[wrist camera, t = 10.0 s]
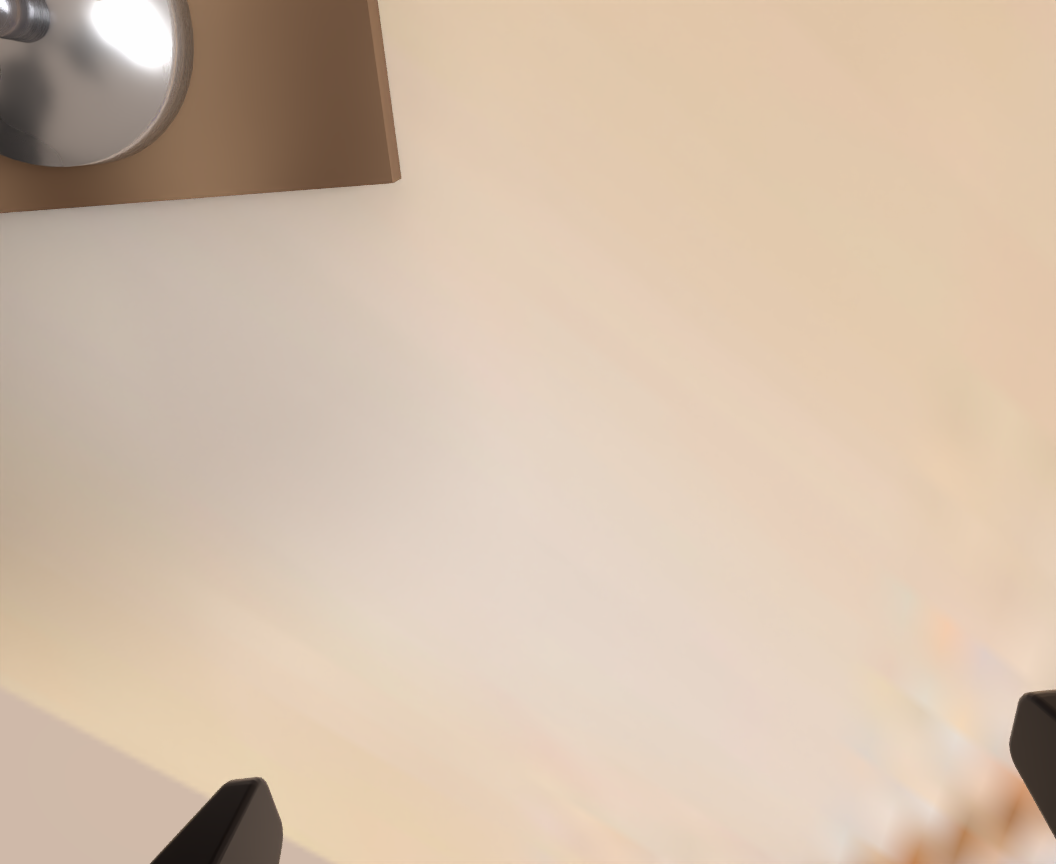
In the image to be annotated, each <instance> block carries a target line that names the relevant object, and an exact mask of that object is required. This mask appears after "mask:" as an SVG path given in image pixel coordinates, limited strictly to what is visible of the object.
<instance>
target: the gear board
mask: <svg viewBox="0 0 1056 864" xmlns="http://www.w3.org/2000/svg"><path fill="white" fill-rule="evenodd" d="M187 3H188V6H189V10H190V16H191V22H192V27H193V41H194V56H193V69H192V74H191V79H190V84H189V88H188V91H187V94H186V97H185V99H184V102H183V104H182V106H181V108H180V110H179V112H178V114H177V116H176V118H175V119H174V120H173V122H172V123H171V124H170V126H169V127H168V128H167V130H166V131H165V132H164V133H163V134H162V135H161V136H160V137H159V138H158V139H157V140H156V141H155V142H153V143H152V144H150V145H149V146H147V147H146V148H145V149H143V150H142V151H140V152H138V153H136V154H133V155H131V156H129V157H127V158H124V159H120V160H117V161H114V162H108V163H102V164H94V165H83V166H71V167H49V166H41V165H33V164H29V163H25V162H21V161H17V160H13V159H11V158H8V157H5V156H3V155H0V213H8V212H21V211H34V210H47V209H60V208H73V207H86V206H99V205H112V204H125V203H138V202H151V201H164V200H177V199H191V198H204V197H217V196H230V195H243V194H256V193H269V192H282V191H295V190H308V189H321V188H334V187H347V186H360V185H374V184H387V183H394V182H396V181H397V180H399V179H401V172H400V165H399V157H398V150H397V142H396V135H395V128H394V120H393V113H392V105H391V98H390V90H389V83H388V76H387V68H386V61H385V53H384V46H383V38H382V31H381V24H380V16H379V9H378V1H377V0H187Z"/></svg>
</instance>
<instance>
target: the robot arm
mask: <svg viewBox="0 0 1056 864" xmlns="http://www.w3.org/2000/svg"><path fill="white" fill-rule="evenodd" d="M1009 746H1010V753H1011V757H1012V760H1013V762H1014V764H1015V767H1016V768H1017V770H1018V772H1019V774H1020V776H1021V777H1022V779H1023V781H1024V783H1025V785H1026V786H1027V788H1028V790H1029V792H1030V794H1031V795H1032V797H1033V799H1034V801H1035V803H1036V804H1037V806H1038V808H1039V810H1040V811H1041V813H1042V815H1043V817H1044V819H1045V820H1046V822H1047V824H1048V826H1049V828H1050V829H1051V831H1052V833H1053V835H1054V837H1055V838H1056V690H1046V691H1037V692H1028V693H1025V694H1024V695H1023V696H1022V697H1021V698H1020V699H1019V702H1018V706H1017V710H1016V714H1015V719H1014V723H1013V727H1012V732H1011V736H1010V742H1009ZM282 841H283V828H282V823H281V819H280V817H279V814H278V811H277V809H276V806H275V803H274V801H273V798H272V795H271V793H270V790H269V787H268V785H267V783H266V781H265V780H264V779H262V778H260V777H253V778H244V779H235V780H231V781H229V782H227V783H226V784H224V785H223V786H222V787H221V788H220V789H219V790H218V791H217V792H216V793H215V794H214V795H213V796H212V797H211V799H210V800H209V801H208V802H207V803H206V804H205V805H204V806H203V807H202V808H201V809H200V811H199V812H198V813H197V814H196V815H195V816H194V817H193V818H192V819H191V820H190V821H189V822H188V823H187V824H186V826H185V827H184V828H183V829H182V830H181V831H180V832H179V833H178V834H177V835H176V836H175V837H174V838H173V840H172V841H171V842H170V843H169V844H168V845H167V846H166V847H165V848H164V849H163V850H162V851H161V852H160V853H159V855H158V856H157V857H156V858H155V859H154V860H153V861H152V862H151V863H150V864H279V860H280V855H281V849H282Z"/></svg>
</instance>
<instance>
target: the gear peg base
mask: <svg viewBox="0 0 1056 864" xmlns="http://www.w3.org/2000/svg"><path fill="white" fill-rule="evenodd" d="M193 56H194V41H193V27H192V22H191V16H190V10H189V6H188V3H187V0H0V155H3V156H5V157H8V158H11V159H13V160H17V161H21V162H25V163H29V164H33V165H41V166H49V167H71V166H83V165H94V164H102V163H108V162H114V161H117V160H120V159H124V158H127V157H129V156H131V155H133V154H136V153H138V152H140V151H142V150H143V149H145V148H146V147H147V146H149V145H150V144H152V143H153V142H155V141H156V140H157V139H158V138H159V137H160V136H161V135H162V134H163V133H164V132H165V131H166V130H167V128H168V127H169V126H170V124H171V123H172V122H173V120H174V119H175V118H176V116H177V114H178V112H179V110H180V108H181V106H182V104H183V102H184V99H185V97H186V94H187V91H188V88H189V84H190V79H191V74H192V69H193Z"/></svg>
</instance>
